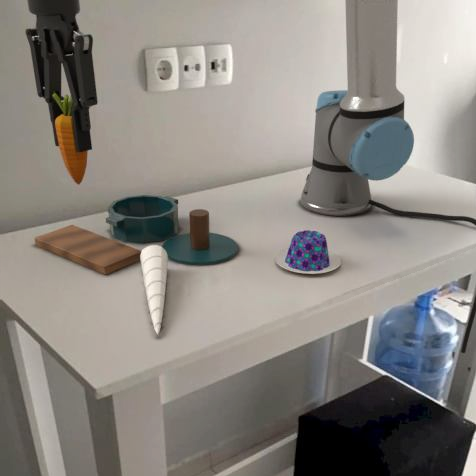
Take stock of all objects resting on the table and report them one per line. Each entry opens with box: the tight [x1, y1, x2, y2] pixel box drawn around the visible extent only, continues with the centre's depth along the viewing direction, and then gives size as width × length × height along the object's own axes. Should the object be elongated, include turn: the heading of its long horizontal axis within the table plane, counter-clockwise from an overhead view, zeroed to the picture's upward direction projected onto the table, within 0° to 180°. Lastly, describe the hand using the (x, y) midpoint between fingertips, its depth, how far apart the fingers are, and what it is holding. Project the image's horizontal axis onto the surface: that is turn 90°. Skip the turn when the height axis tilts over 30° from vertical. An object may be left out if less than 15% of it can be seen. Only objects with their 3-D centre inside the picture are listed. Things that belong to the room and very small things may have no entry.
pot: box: [105, 194, 180, 244], centre depth 126 cm, size 13×17×5 cm
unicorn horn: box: [140, 244, 169, 335], centre depth 101 cm, size 5×24×5 cm, turn 4°
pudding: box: [274, 229, 342, 275], centre depth 113 cm, size 12×12×5 cm
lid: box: [161, 208, 239, 266], centre depth 117 cm, size 14×14×7 cm
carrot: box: [52, 93, 89, 186], centre depth 106 cm, size 5×5×15 cm
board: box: [33, 224, 142, 276], centre depth 117 cm, size 20×9×2 cm, turn 51°
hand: (73, 147), depth 107 cm, fingers closed on carrot, 5 cm apart
